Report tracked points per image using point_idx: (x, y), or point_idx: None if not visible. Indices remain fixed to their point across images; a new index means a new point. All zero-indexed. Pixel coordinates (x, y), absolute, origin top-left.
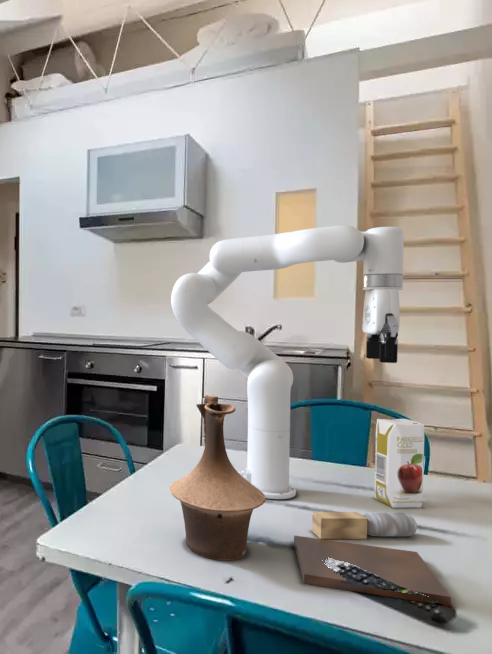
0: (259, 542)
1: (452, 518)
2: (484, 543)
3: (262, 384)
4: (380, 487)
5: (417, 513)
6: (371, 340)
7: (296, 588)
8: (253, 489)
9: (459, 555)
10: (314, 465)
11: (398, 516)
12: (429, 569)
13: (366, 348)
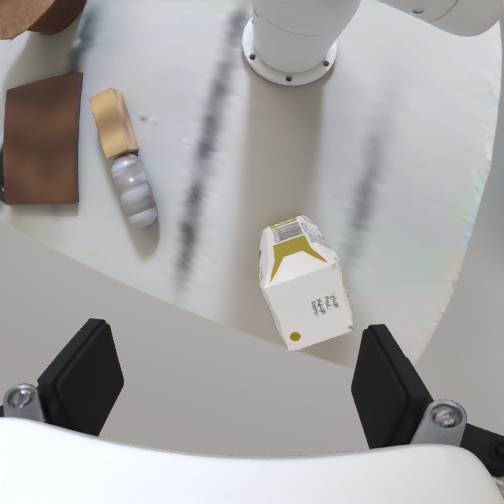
0: (78, 40)
1: (242, 297)
2: (159, 297)
3: None
4: (284, 222)
5: (249, 258)
6: (404, 427)
7: (5, 86)
8: (7, 23)
9: (110, 253)
10: (464, 169)
11: (125, 204)
12: (40, 202)
13: (401, 358)
